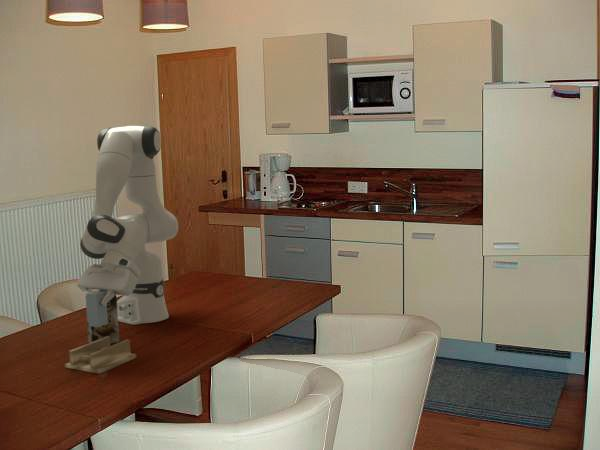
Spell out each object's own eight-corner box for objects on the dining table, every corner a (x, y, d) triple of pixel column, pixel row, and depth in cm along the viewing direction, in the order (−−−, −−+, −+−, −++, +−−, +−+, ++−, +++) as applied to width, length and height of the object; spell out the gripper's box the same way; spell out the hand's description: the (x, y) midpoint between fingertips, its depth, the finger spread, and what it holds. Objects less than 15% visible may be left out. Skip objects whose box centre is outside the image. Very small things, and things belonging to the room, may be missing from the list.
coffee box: (92, 347, 245) (88, 298, 243) (88, 342, 251) (84, 294, 248) (120, 342, 249) (116, 295, 247) (115, 337, 255) (112, 291, 252)
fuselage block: (88, 325, 227) (85, 290, 225) (98, 322, 230) (95, 287, 229) (98, 327, 225) (95, 291, 223) (108, 323, 228) (105, 288, 227)
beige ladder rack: (64, 367, 226) (63, 350, 225) (102, 351, 240) (101, 335, 239) (99, 373, 219) (98, 356, 218) (136, 357, 233) (135, 340, 232)
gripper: (85, 258, 236) (64, 295, 229) (134, 262, 226) (114, 301, 219) (96, 269, 240) (76, 306, 233) (145, 273, 230) (126, 312, 223)
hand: (95, 304), depth 226 cm, fingers closed on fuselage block, 4 cm apart
